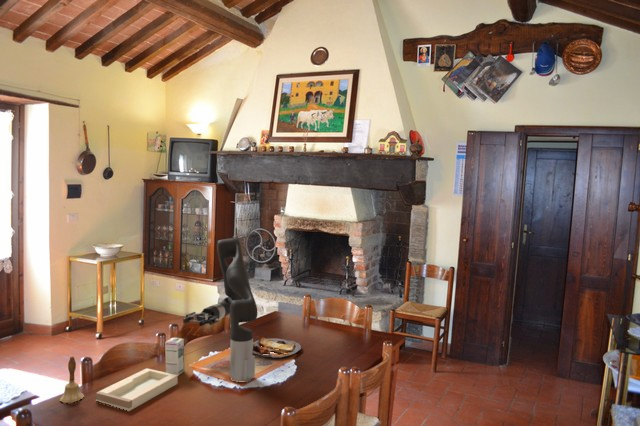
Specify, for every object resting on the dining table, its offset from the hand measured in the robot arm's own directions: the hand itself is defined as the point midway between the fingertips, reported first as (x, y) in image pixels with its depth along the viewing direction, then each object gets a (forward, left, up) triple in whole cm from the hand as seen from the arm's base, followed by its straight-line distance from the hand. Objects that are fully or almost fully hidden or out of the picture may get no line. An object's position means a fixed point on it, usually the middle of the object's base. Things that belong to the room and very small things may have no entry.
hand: (191, 322), depth 222 cm
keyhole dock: (0, +32, -19) cm, 37 cm away
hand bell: (+18, +47, -19) cm, 54 cm away
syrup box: (0, +11, -19) cm, 22 cm away
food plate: (-24, -32, -19) cm, 44 cm away
